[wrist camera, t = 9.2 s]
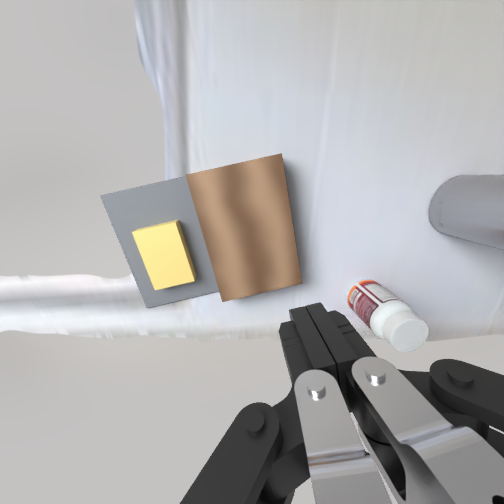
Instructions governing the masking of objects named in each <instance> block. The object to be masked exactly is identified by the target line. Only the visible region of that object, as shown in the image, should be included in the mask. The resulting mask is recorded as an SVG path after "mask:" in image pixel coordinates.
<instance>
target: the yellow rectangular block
mask: <svg viewBox="0 0 504 504" xmlns="http://www.w3.org/2000/svg"><path fill="white" fill-rule="evenodd" d="M132 234H133V236H134V239H135V241H136V244H137V247H138V249H139V252H140V254H141V257H142V259H143V262H144V264H145V267H146V269H147V272H148V274H149V277H150V280H151V282H152V285H153V287H154V290H159V289H163V288H167V287H172V286H176V285H180V284H184V283H189V282H193V281H195V279H196V273H195V269H194V266H193V263H192V260H191V257H190V254H189V251H188V248H187V244H186V241H185V238H184V235H183V232H182V229H181V226H180V223H179V220H175V221H171V222H166V223H162V224H158V225H153V226H149V227H145V228H140V229H137V230H135V231H133V232H132Z"/></svg>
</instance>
